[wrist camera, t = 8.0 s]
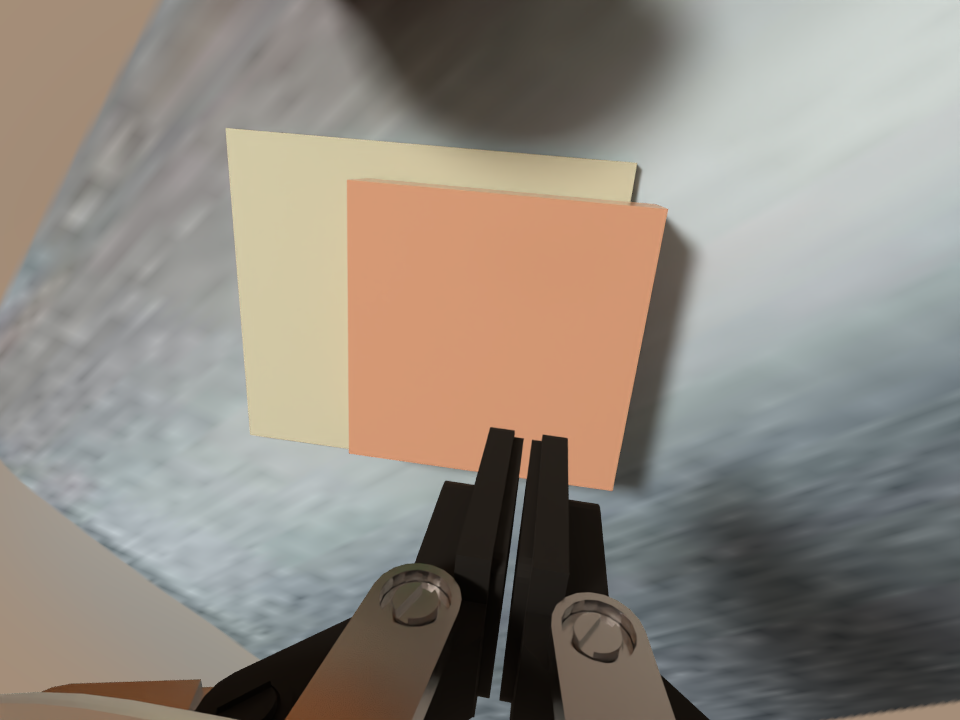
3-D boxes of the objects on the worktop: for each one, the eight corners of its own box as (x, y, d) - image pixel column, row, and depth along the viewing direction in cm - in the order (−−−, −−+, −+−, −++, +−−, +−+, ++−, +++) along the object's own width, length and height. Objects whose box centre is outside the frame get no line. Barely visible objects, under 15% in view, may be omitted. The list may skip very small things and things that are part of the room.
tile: (667, 209, 19) (346, 179, 20) (612, 490, 24) (349, 453, 25) (654, 203, 22) (370, 177, 23) (606, 458, 26) (368, 425, 27)
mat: (635, 163, 22) (637, 163, 21) (581, 477, 27) (582, 481, 27) (230, 128, 24) (225, 128, 23) (254, 431, 29) (250, 434, 28)
